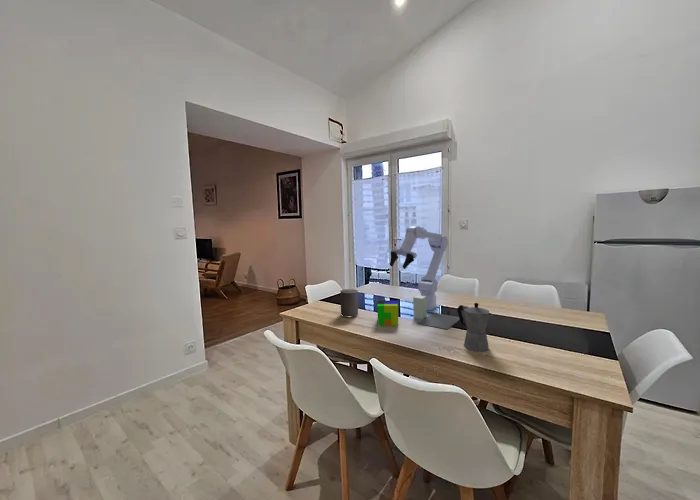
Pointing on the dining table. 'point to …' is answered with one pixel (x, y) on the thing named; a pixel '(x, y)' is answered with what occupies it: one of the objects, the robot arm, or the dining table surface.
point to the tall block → (419, 307)
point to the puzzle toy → (387, 313)
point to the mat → (439, 321)
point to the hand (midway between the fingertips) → (397, 266)
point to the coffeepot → (475, 327)
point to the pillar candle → (349, 302)
